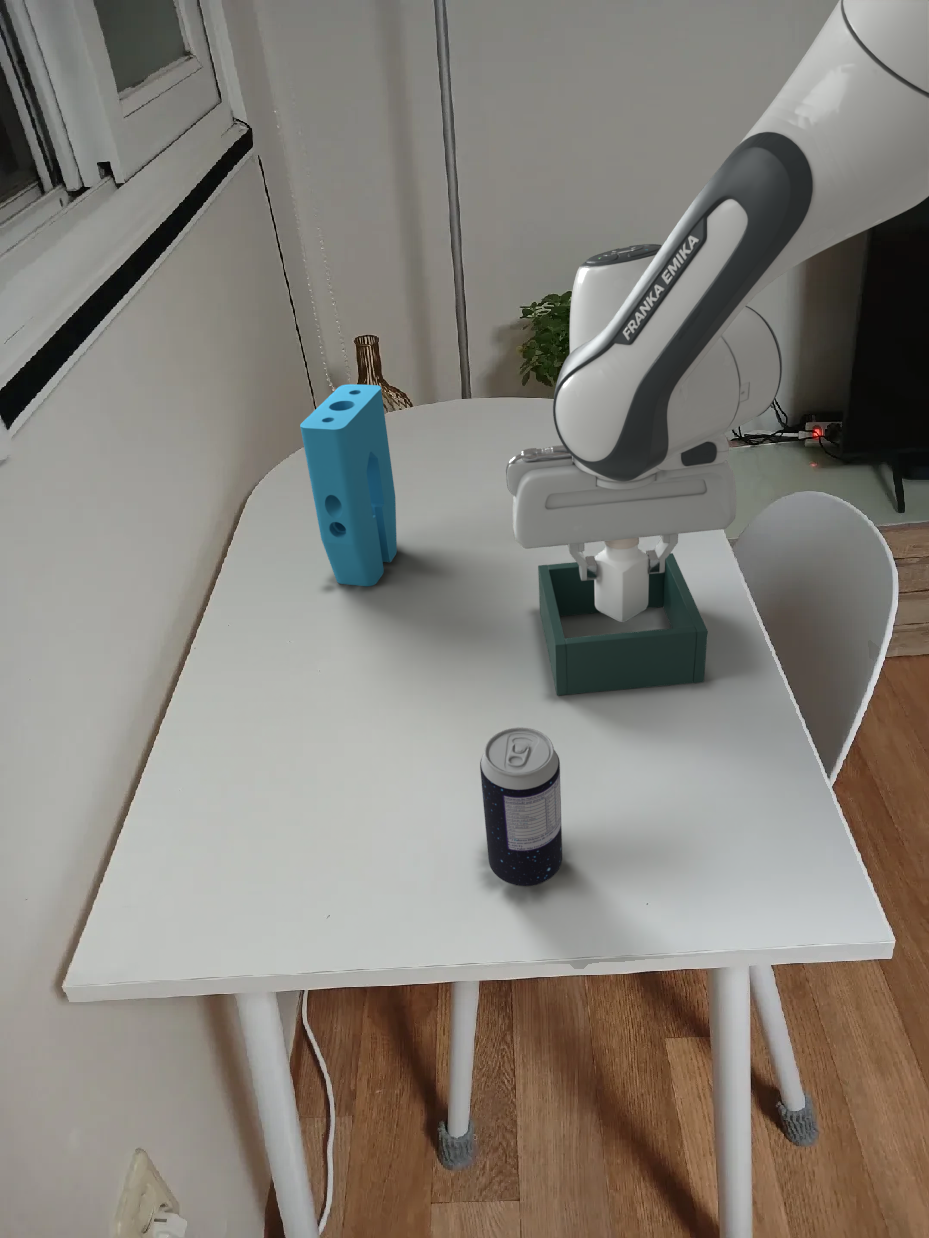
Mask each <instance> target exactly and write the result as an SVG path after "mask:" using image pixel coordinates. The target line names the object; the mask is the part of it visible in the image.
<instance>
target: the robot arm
mask: <svg viewBox="0 0 929 1238" xmlns="http://www.w3.org/2000/svg"><path fill="white" fill-rule="evenodd" d="M928 197H929V0H838V2H837V3H836V5H835V6H834V9H833V10H832V11H831V12H830V15H829V16H828V18H827V20H826V21H825V22H824V24H823V26H822V27H821V30H819V33H818V34H817V35H816V37H815V38H814V40H813V42H812V43H811V45H810V46H809V48H808V50H807V51H806V53H805V54H804V56H803V57H802V59H801V60H800V61H799V63H798V64H797V66H796V67H795V69H794V70H793V72H792V73H791V75H790V76H789V77H788V79H787V80H786V82H785V83H784V84H783V86H782V87H781V89H780V90H779V91H778V93H777V95H776V96H775V97H774V99H773V100H772V102H771V103H770V104H769V105H768V106H767V108H766V109H765V111H764V112H763V114H762V115H761V116H760V117H759V119H758V120H756V122H755V123H754V125H753V126H752V127H751V128H750V130H748V132H747V133H746V135H745V136H744V137H743V138H742V140H741V141H740V142H739V144H738V145H737V146H736V147H735V148H734V149H733V150H732V151H731V152H730V153H729V155H728V156H727V158H725V160H724V162H722V163H721V165H720V167H718V169H717V170H716V172H715V173H714V174H713V175H712V176H711V177H710V178H709V180H707V182H706V183H705V185H704V186H703V188H702V189H701V190H700V191H699V193H698V194H697V195H696V196H695V198H694V199H693V201H692V202H691V203H690V205H689V206H688V207H687V209H686V210H685V212H684V213H683V214H682V216H681V217H680V219H679V220H678V222H676V223H677V224H675V226H674V228H673V229H672V230H671V232H670V234H668V236H667V238H666V239H665V241H664V242H663V244H659V243H658V244H656V243H643V244H637V245H636V244H635V245H629V246H626V247H622V248H615V249H611V250H607V251H604V252H602V253H601V252H600V253H598V254H595V255H593V256H591V257H589V258H588V259H586V260H585V261H584V262H583V263H582V264H581V265H579V267H578V269H577V271H576V274H575V277H574V281H573V286H572V292H571V298H570V309H569V311H570V312H569V354H568V356H566V358H565V360H564V361H563V364H562V366H561V368H560V371H559V374H558V376H557V381H556V384H555V389H554V394H553V401H552V417H553V421H554V422H553V423H554V427H555V431H556V434H557V435H558V438H559V440H560V443H561V444H560V445H552V446H547V447H543V448H537V447H531V448H526V449H522V450H521V453H520V454H517V455H515V456H513V457H512V458H511V459H510V460H509V462H508V463H507V464H506V469H505V475H506V476H505V478H506V479H505V480H506V487H507V489H508V491H509V493H510V494H511V495H513V497H512V531H513V536H514V541H516V542H517V543H518V544H519V545H520V546H521V547H522V548H523V549H527V550H528V549H540V548H548V547H549V548H550V547H561V546H567V548H568V552H569V554H570V556H571V557H572V559H573V560H574V562H577V563H578V565H579V573H580V578H581V581H586V580H596V579H597V574H596V572H597V565H596V562H595V556H594V555H590V556H586V555H585V554H584V552H585V544H588V543H589V544H590V543H598V542H599V543H600V542H604V541H610V540H620V539H630V538H639V539H640V538H647V537H648V538H649V537H658V536H660V540H659V541H658V543H657V544H656V546H655V548H654V549H650V550H649V549H648V550H645V553H646V554H647V555H648V557H649V574H655V573H664V572H665V558H667V557H668V556H669V554H670V553H672V552H673V550H674V549H675V548H676V546H677V544H678V543H679V534H680V535H681V534H690V533H700V532H708V531H710V532H711V531H719V530H720V531H721V530H725V529H727V528H729V526H730V525H731V524H732V523H733V522H734V521H735V519H736V516H737V485H736V478H735V473H734V470H733V469H732V467H731V465H730V463H729V461H728V460H727V459H728V457H729V453H730V444H729V442H728V439H727V436H726V433H728V432H731V431H733V430H736V429H737V428H739V427H741V426H744V425H745V424H748V423H749V422H751V421H753V420H754V419H756V418H757V417H760V416H762V415H764V413H766V412H767V411H768V410H769V409H770V408H771V406H772V405H773V403H774V402H775V400H776V399H777V395H778V394H779V389H780V386H781V382H782V377H783V376H782V375H783V357H782V351H781V347H780V344H779V341H778V338H777V336H776V334H775V332H774V329H773V327H772V326H771V325H770V324H769V322H768V321H767V320H766V318H764V316H762V314H760V313H759V312H757V311H756V310H755V309H753V308H752V307H750V306H748V304H749V303H750V302H751V301H752V300H753V299H754V298H755V297H756V296H757V295H758V294H759V293H760V292H761V291H763V290H764V289H765V288H766V287H767V286H769V285H770V284H771V283H773V282H774V281H775V280H777V279H778V278H779V277H781V276H782V275H785V273H787V272H788V271H790V270H791V269H793V268H794V267H796V266H798V265H800V264H801V263H804V261H806V260H808V259H810V258H812V257H813V256H815V255H817V254H819V253H821V252H823V251H825V250H827V249H829V248H831V247H833V246H835V245H838V244H839V243H841V242H844V241H845V240H847V239H850V238H852V237H854V236H856V235H858V234H860V233H862V232H865V231H867V230H869V229H870V228H873V227H875V226H877V225H880V224H881V223H884V222H886V221H888V220H891V219H892V218H894V217H896V216H899V215H900V214H903V213H905V212H907V211H908V210H911V209H912V208H914V207H916V206H917V205H919V204H920V203H921V202H923V201H925V200H926V199H927V198H928Z"/></svg>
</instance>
